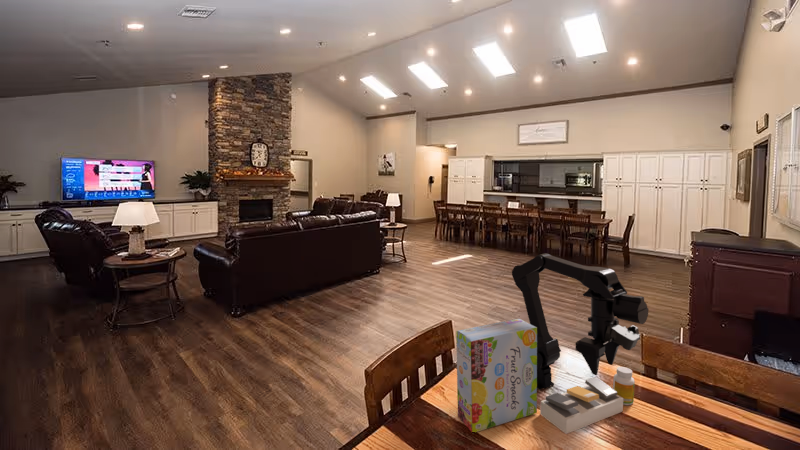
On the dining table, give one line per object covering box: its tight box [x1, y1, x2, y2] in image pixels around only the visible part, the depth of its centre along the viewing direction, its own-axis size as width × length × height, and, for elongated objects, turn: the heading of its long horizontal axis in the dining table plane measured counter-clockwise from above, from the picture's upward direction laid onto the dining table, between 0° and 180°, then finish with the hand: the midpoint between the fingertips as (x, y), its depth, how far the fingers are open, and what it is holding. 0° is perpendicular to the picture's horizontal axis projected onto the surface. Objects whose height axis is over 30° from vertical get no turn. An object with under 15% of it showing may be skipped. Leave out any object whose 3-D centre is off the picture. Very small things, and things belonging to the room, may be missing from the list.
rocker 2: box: [584, 376, 617, 399], centre depth 108 cm, size 7×4×1 cm, turn 25°
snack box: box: [455, 318, 538, 433], centre depth 104 cm, size 22×9×26 cm, turn 111°
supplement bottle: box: [612, 366, 635, 406], centre depth 111 cm, size 5×5×10 cm
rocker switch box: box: [539, 384, 624, 435], centre depth 105 cm, size 9×22×4 cm, turn 114°
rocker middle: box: [566, 385, 599, 402], centre depth 105 cm, size 7×4×1 cm, turn 24°
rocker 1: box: [545, 392, 578, 410], centre depth 102 cm, size 7×4×1 cm, turn 24°
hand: (602, 369), depth 104 cm, fingers open, 9 cm apart
